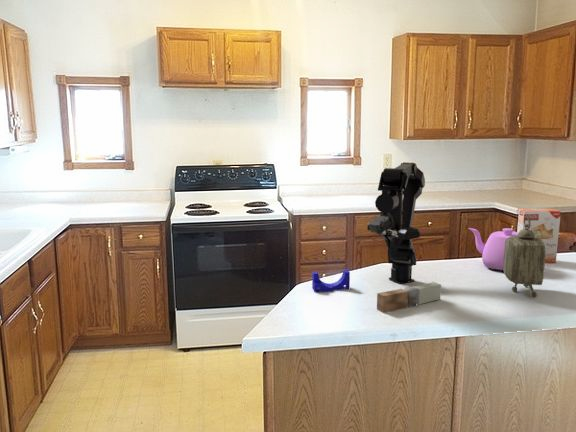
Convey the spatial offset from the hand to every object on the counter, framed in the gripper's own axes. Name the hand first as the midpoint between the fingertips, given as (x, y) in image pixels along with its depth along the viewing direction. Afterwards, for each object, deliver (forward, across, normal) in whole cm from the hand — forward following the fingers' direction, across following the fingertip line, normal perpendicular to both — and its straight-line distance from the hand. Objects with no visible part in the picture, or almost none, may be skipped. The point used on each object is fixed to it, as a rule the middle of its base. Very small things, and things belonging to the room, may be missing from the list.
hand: (392, 255), depth 167 cm
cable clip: (+12, -12, -15) cm, 23 cm away
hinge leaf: (+12, +13, +1) cm, 17 cm away
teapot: (+13, 0, +56) cm, 57 cm away
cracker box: (+13, +2, +74) cm, 75 cm away
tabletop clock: (+12, +22, +36) cm, 44 cm away
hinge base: (+12, +13, -9) cm, 19 cm away
